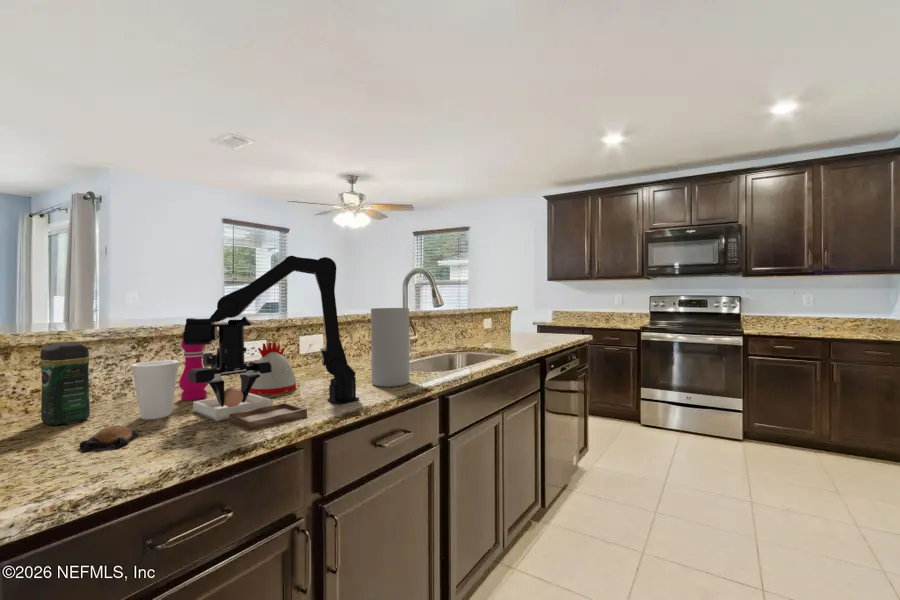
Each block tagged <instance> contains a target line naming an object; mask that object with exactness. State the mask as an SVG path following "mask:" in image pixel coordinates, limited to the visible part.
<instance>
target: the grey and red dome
mask: <svg viewBox="0 0 900 600" xmlns="http://www.w3.org/2000/svg"><path fill="white" fill-rule="evenodd" d="M266 346H267V347H266ZM257 348H258V351H259V354H260V356H261V357H260V358H259V359H258V360H257V361H261V360H262V361H267V362H270V363H271V365H272V372H270V373H263V374H261V373H260V372H257V374H258V375H260V377H258V378H257V379H256V380H255V382H254V384H253V385H252V387H251V389H250V391H249V393H251V394H254V395H276V394H283V393H287V392H288V393H289V392H291V391H294V390H296V388H297V381H296V376H295V372H294V370H293V367H292V366H291V363H290V362H289V361H288V359H287V358H286V357H285V356H284V355H283V354H284V351H285V347H282V348H281V345H280V344H278V345H277V344H276V341H273V342H268V345H266V343H264V342H263V343H262V349H261V347H257Z"/></svg>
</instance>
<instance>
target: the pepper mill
mask: <svg viewBox="0 0 900 600" xmlns="http://www.w3.org/2000/svg"><path fill="white" fill-rule="evenodd" d="M180 345H181V348H182V349H183V350H184V351H183V357H184V358H185V363H184V364H185V365H184V369H183V371H182V374H181V376H180V379H179V382H178V383H179V385H178V386H179V389H181V390H182V392H181V396H180V397H181V400H182V401H199V400H203V399H205V398H206V397H207V393H208V392H207V390H206V387H207V386H208V385H209V384H208V383H205V382H203V383H195V382H191V381H188V373H189V371H190V370H191V369H196V368H204V366H203V354H204V350H203V349H204V348H205V347H206V345H189V346H186V345H185V344H184V339H183V338H182V340H181V344H180Z"/></svg>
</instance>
